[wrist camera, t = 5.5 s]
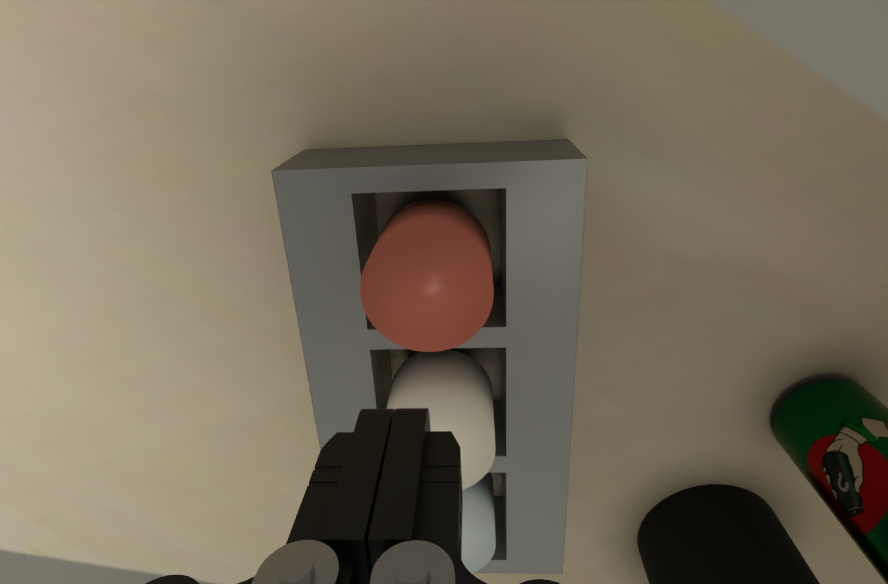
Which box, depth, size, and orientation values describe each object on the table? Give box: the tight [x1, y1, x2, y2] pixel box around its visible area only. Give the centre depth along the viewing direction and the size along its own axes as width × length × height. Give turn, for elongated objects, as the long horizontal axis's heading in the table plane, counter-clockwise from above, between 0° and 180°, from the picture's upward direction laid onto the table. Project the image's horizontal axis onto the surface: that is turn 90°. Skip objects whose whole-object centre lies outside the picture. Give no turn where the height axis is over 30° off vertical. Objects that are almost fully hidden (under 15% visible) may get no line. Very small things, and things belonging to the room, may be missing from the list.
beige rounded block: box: [386, 350, 496, 490], centre depth 24 cm, size 5×5×4 cm
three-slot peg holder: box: [271, 139, 587, 574], centre depth 27 cm, size 12×22×4 cm, turn 3°
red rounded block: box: [360, 199, 494, 352], centre depth 21 cm, size 5×5×4 cm
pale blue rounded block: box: [461, 473, 496, 574], centre depth 29 cm, size 5×5×4 cm
